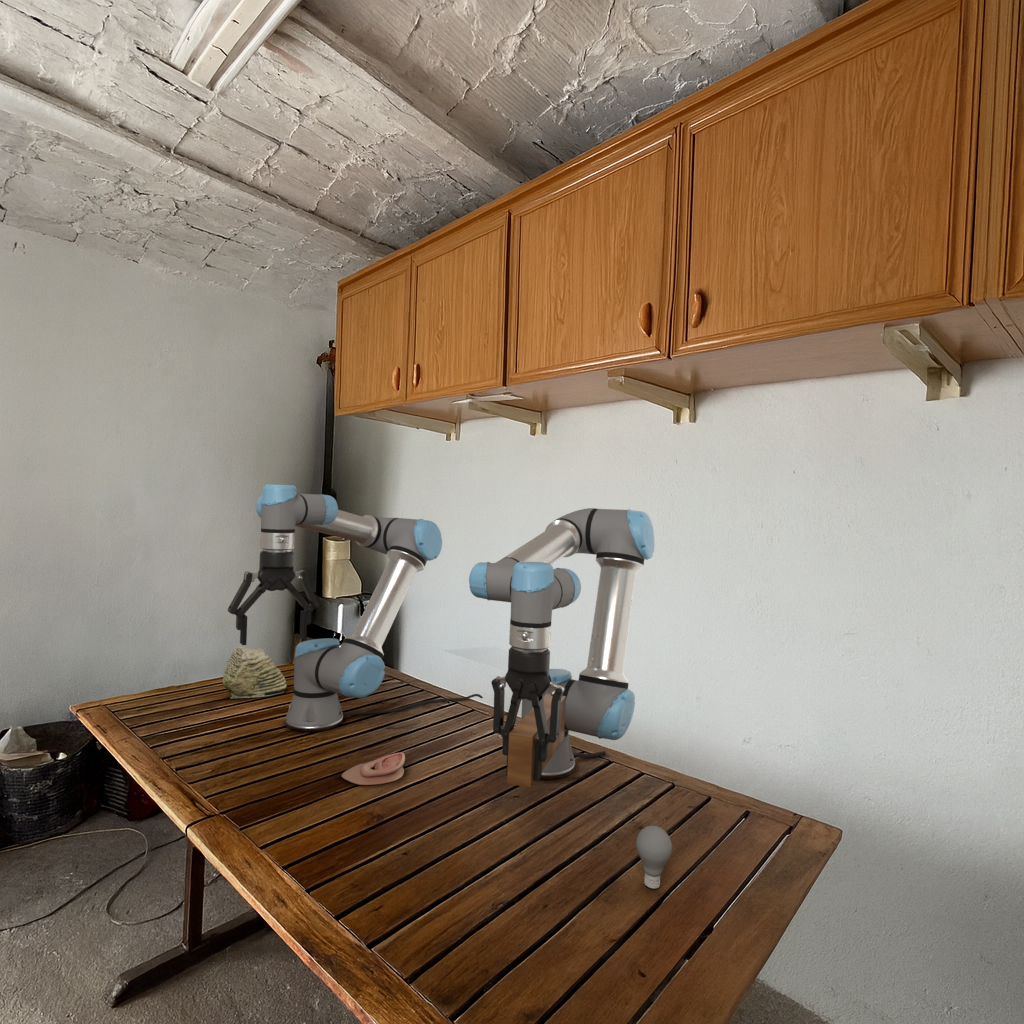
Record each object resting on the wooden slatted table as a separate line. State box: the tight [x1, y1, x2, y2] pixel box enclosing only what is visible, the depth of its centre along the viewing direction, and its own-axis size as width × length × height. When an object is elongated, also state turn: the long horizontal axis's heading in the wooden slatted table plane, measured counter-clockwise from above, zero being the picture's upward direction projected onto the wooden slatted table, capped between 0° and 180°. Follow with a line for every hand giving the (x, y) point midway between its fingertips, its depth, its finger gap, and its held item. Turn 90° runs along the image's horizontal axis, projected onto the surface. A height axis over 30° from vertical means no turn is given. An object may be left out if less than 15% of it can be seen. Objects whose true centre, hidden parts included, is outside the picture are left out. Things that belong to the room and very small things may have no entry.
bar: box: [506, 694, 566, 789], centre depth 124 cm, size 25×4×9 cm, turn 162°
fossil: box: [222, 646, 288, 699], centre depth 198 cm, size 9×18×15 cm, turn 132°
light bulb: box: [635, 825, 673, 889], centre depth 107 cm, size 6×6×10 cm
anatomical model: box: [341, 751, 406, 786], centre depth 145 cm, size 13×4×12 cm
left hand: (273, 641), depth 148 cm, fingers open, 13 cm apart
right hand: (523, 775), depth 115 cm, fingers closed on bar, 4 cm apart
